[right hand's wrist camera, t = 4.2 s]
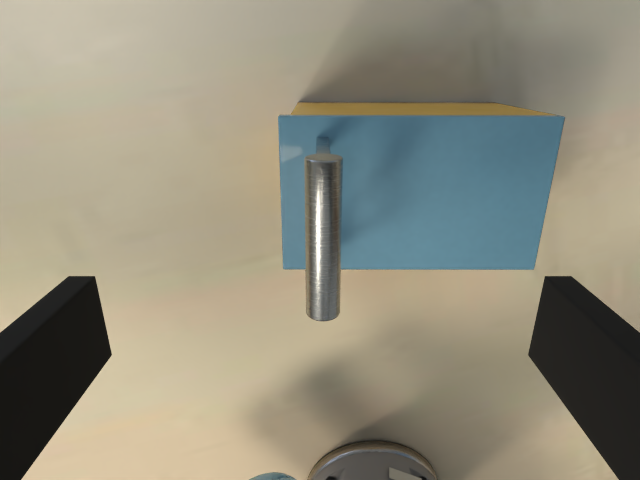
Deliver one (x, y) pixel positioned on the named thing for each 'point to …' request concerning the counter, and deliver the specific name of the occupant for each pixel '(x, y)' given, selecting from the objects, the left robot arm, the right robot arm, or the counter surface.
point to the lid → (411, 194)
